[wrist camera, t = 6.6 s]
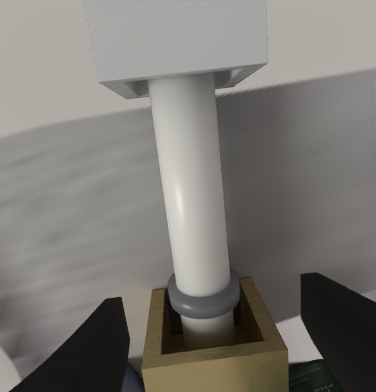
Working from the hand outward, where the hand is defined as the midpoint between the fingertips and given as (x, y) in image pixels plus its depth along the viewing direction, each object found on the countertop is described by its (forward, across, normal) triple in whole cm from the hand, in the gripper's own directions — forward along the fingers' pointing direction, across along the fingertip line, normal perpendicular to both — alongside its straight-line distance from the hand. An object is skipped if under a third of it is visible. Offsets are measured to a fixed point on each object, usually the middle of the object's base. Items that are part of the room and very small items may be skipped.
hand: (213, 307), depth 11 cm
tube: (+7, 0, -3) cm, 7 cm away
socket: (+8, 0, +6) cm, 10 cm away
